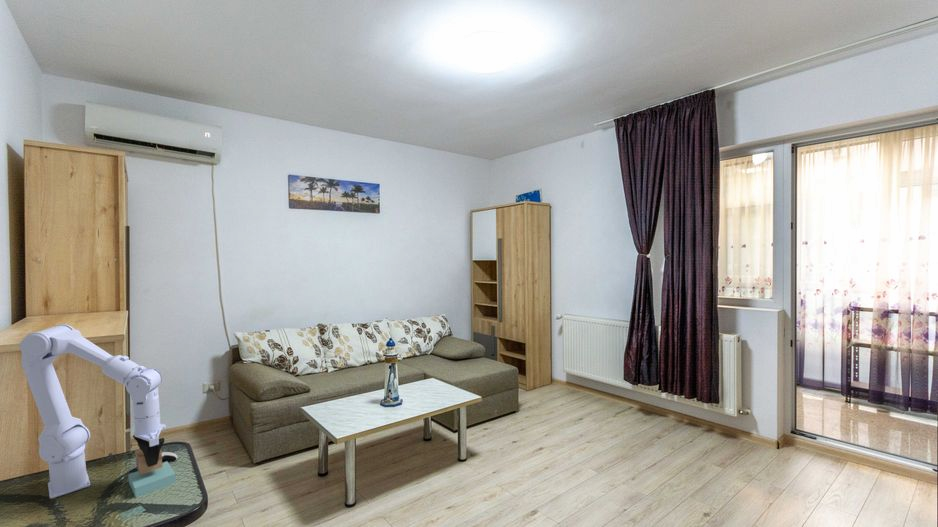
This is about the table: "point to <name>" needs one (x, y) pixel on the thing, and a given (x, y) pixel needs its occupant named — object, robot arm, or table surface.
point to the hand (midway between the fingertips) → (150, 461)
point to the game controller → (169, 456)
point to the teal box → (152, 480)
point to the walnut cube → (142, 464)
